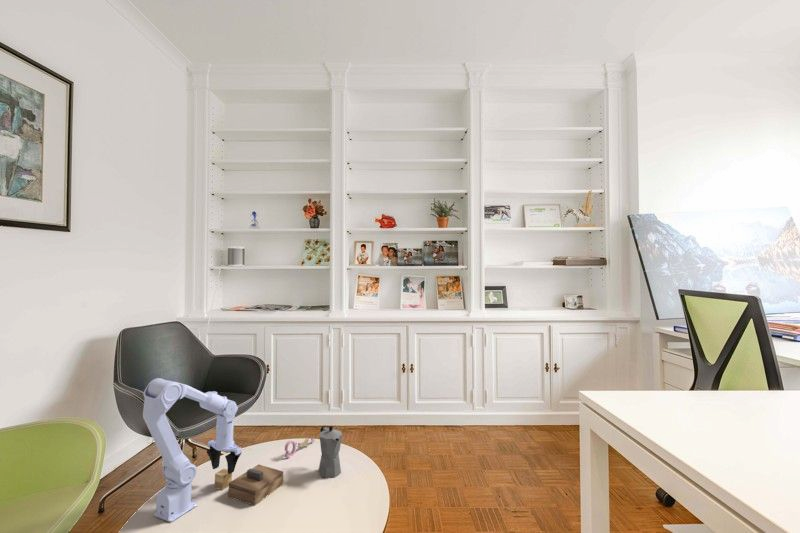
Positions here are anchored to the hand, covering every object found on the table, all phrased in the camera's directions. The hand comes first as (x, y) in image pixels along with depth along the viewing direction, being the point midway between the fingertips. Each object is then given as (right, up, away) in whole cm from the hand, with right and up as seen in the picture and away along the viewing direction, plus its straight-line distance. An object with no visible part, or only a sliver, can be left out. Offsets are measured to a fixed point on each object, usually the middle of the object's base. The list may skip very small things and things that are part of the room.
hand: (223, 470), depth 135 cm
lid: (+13, -2, -2) cm, 14 cm away
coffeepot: (+36, -7, +12) cm, 39 cm away
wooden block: (0, -6, 0) cm, 6 cm away
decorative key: (+21, -7, +29) cm, 37 cm away
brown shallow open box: (+13, -6, -2) cm, 15 cm away
